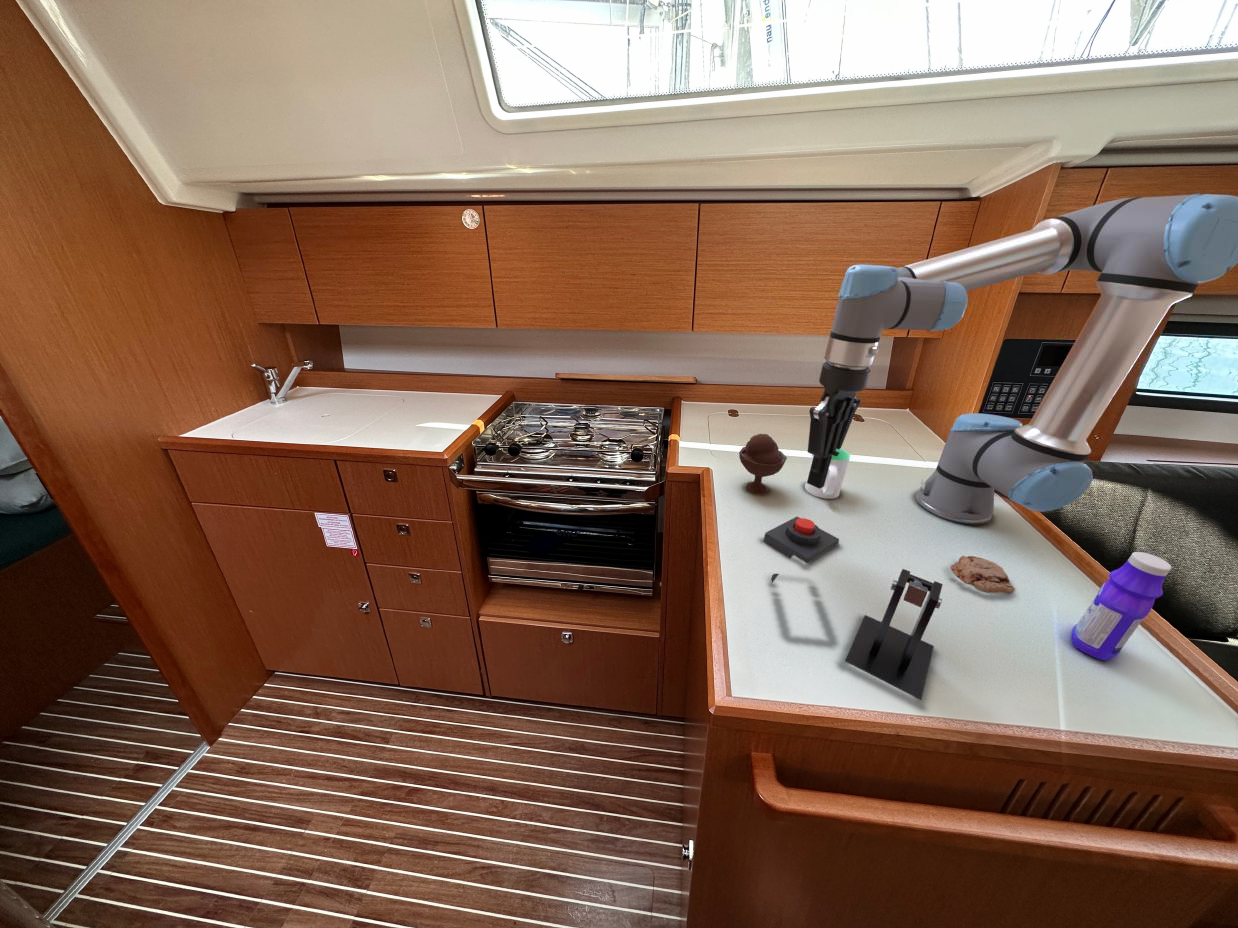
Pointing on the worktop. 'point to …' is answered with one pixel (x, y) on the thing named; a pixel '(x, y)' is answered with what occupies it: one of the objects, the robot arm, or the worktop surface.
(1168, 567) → the bottle
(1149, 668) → the worktop surface
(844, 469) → the mug
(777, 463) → the ice cream bowl
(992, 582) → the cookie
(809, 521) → the stop button
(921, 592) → the switch lever
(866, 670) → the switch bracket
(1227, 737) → the worktop surface
